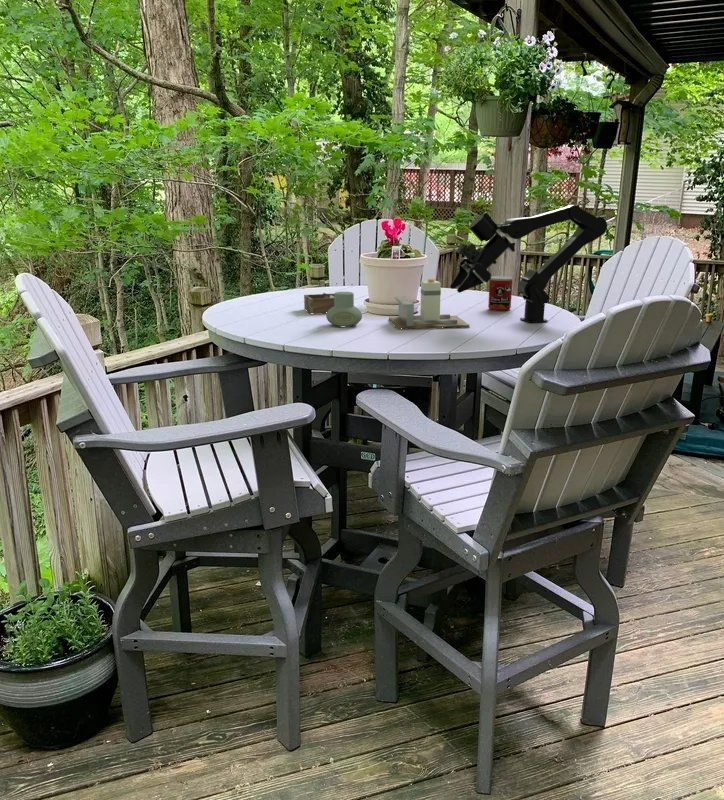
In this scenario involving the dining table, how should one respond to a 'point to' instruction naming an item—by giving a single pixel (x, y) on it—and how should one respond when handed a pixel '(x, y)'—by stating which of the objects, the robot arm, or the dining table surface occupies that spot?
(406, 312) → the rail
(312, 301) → the brown wooden box
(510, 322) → the dining table surface
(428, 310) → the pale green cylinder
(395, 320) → the board
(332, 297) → the eagle figurine
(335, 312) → the air freshener
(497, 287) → the canned food
